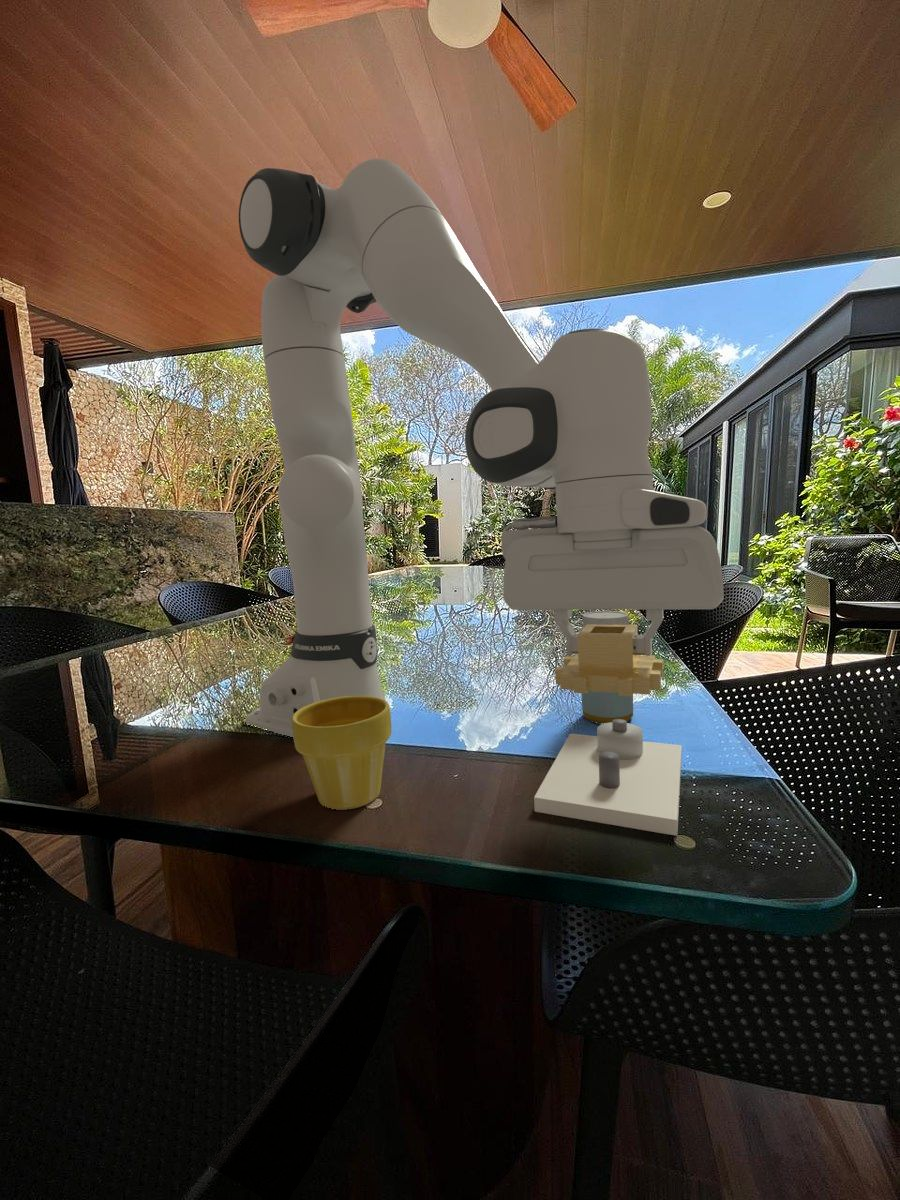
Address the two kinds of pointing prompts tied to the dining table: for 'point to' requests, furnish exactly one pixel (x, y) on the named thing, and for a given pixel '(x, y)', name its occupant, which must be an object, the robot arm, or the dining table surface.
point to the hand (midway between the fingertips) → (608, 653)
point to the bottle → (606, 703)
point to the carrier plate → (619, 803)
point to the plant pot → (344, 748)
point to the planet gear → (609, 663)
